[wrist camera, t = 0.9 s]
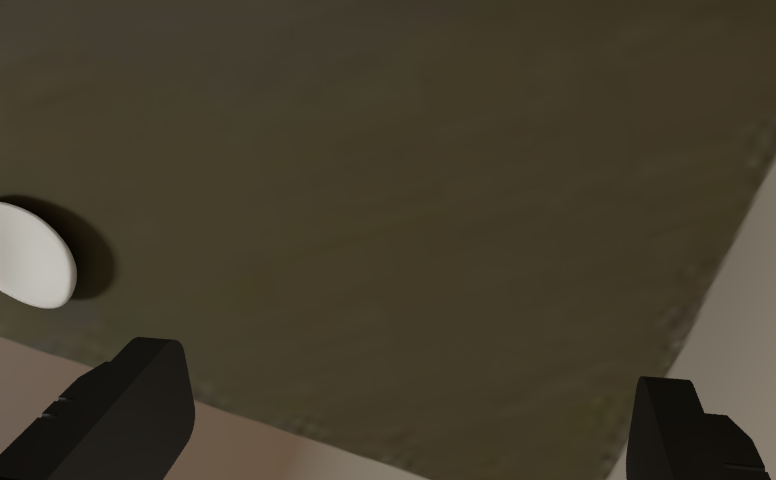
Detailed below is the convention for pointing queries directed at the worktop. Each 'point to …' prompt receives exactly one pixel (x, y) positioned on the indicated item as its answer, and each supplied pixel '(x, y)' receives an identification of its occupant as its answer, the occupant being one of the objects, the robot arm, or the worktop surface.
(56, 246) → the spoon
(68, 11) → the worktop surface
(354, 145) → the worktop surface
